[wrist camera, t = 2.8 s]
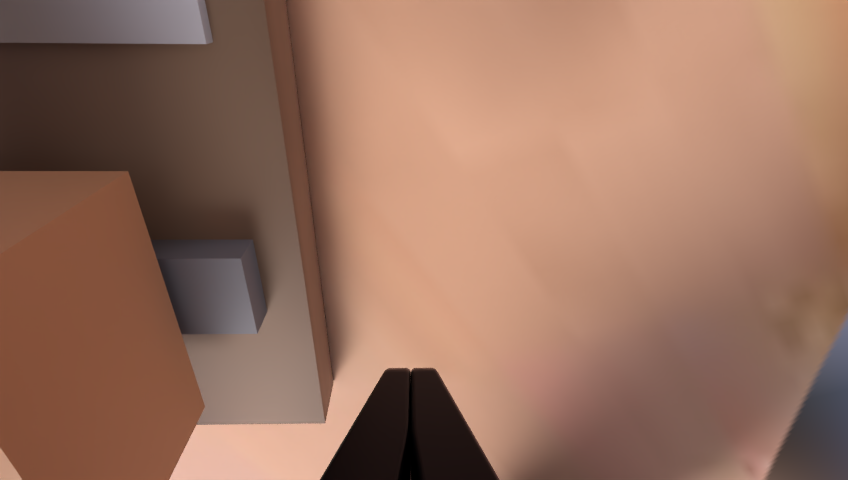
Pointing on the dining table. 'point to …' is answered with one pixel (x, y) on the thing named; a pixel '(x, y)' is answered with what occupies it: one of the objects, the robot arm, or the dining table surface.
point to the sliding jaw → (87, 335)
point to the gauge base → (189, 174)
